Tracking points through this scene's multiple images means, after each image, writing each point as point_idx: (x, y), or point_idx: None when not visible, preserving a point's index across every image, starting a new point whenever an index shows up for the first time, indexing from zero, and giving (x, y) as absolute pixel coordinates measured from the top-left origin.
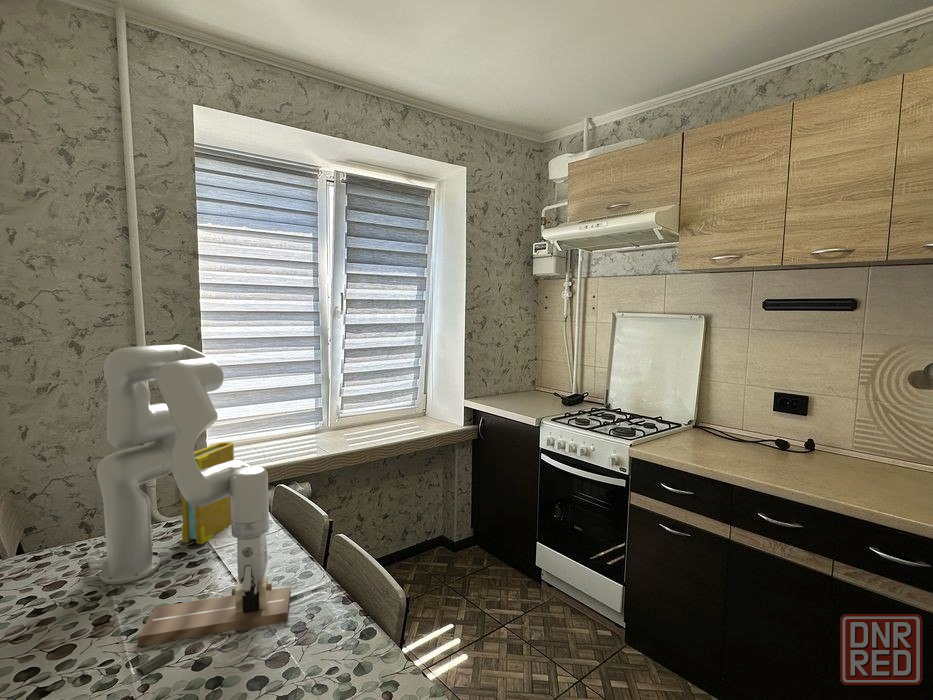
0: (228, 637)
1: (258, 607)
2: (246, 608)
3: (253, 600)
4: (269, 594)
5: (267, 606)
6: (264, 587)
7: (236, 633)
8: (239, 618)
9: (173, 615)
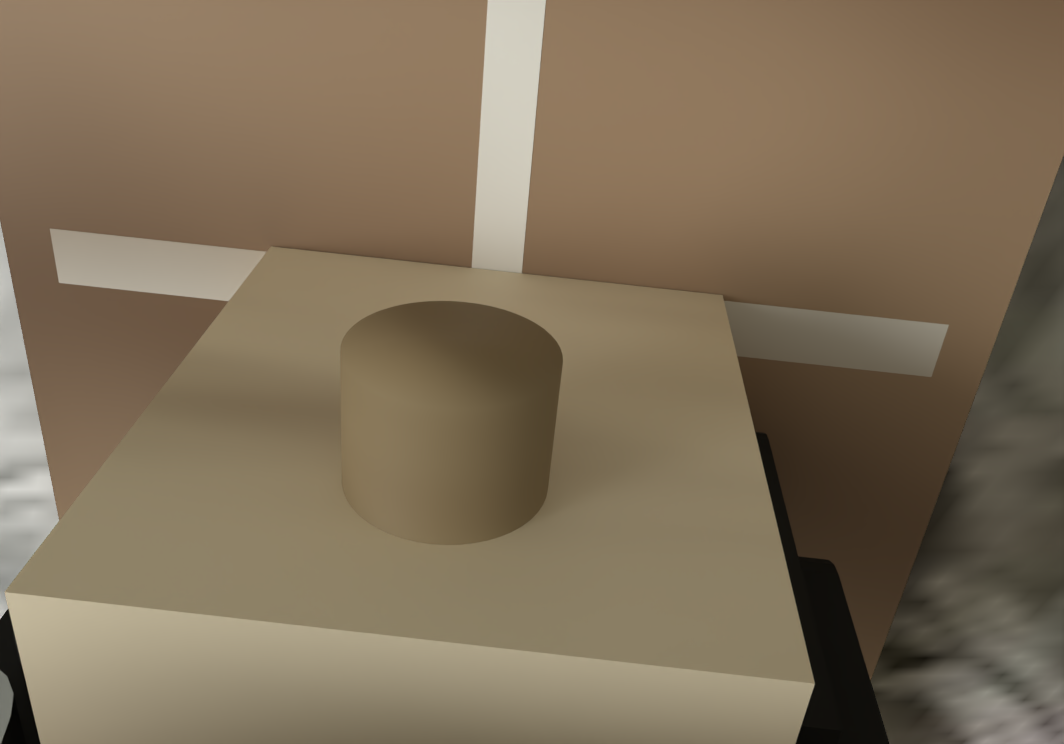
0: (948, 668)
1: (769, 465)
2: None
3: (870, 708)
4: (188, 217)
5: (657, 260)
6: (807, 680)
7: (915, 594)
8: None
9: None
